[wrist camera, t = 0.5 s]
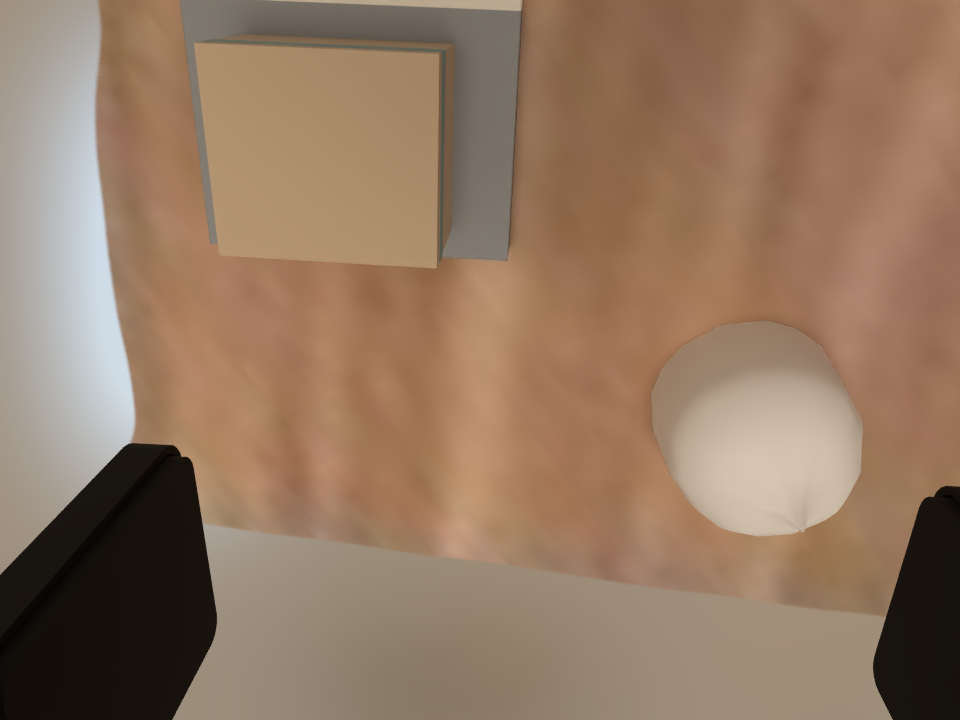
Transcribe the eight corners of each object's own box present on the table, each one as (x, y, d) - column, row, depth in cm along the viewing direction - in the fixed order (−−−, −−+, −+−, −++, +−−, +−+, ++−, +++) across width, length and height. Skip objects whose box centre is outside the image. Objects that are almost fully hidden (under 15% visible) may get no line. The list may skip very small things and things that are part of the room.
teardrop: (820, 294, 43) (914, 399, 32) (854, 454, 47) (946, 594, 36) (627, 352, 45) (653, 468, 34) (675, 499, 49) (712, 642, 39)
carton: (244, 33, 36) (193, 42, 31) (455, 42, 36) (439, 53, 31) (262, 219, 40) (218, 255, 35) (451, 230, 40) (437, 268, 35)
